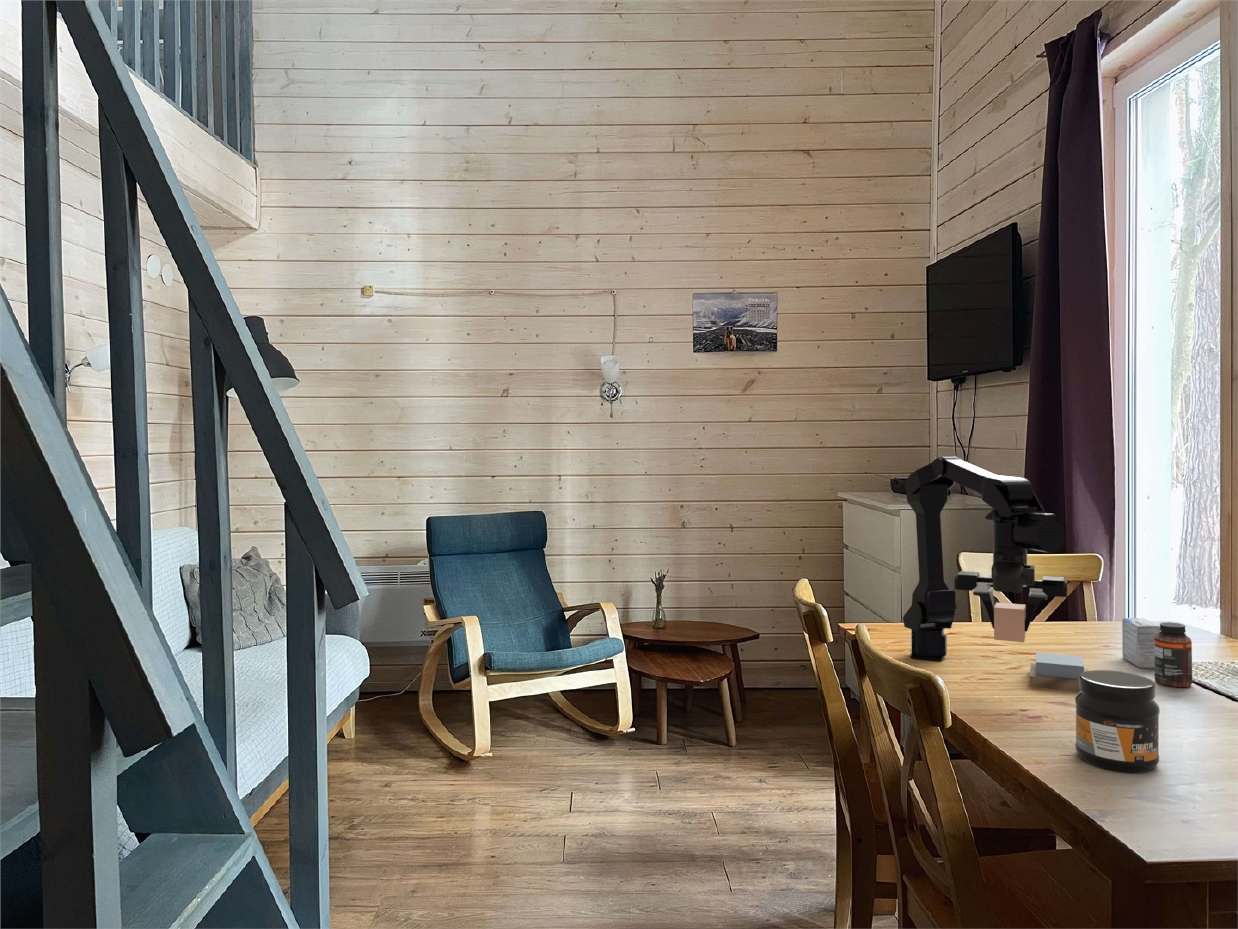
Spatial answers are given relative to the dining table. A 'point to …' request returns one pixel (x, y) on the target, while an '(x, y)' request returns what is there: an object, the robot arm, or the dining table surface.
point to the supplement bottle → (1173, 656)
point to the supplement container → (1117, 721)
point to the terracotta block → (1009, 622)
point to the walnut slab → (1053, 681)
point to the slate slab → (1059, 665)
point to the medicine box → (1139, 641)
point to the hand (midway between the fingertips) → (1010, 629)
